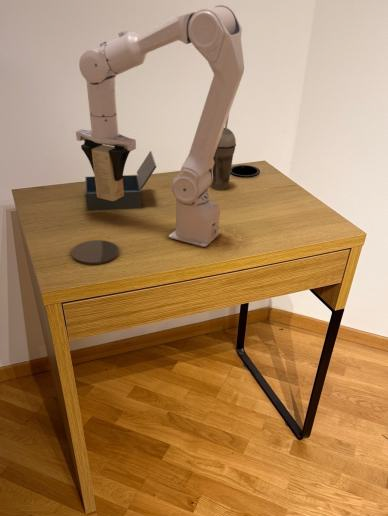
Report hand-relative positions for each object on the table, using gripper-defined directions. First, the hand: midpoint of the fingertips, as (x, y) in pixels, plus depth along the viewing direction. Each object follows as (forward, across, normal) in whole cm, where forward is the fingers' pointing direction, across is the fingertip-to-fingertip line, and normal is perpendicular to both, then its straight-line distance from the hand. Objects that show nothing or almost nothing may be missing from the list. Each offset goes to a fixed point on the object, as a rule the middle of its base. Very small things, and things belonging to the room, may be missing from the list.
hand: (108, 177), depth 113 cm
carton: (+10, +6, -10) cm, 16 cm away
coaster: (+10, -7, +16) cm, 20 cm away
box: (+5, 0, 0) cm, 5 cm away
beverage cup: (+11, -13, -33) cm, 37 cm away
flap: (+3, 0, -15) cm, 15 cm away
